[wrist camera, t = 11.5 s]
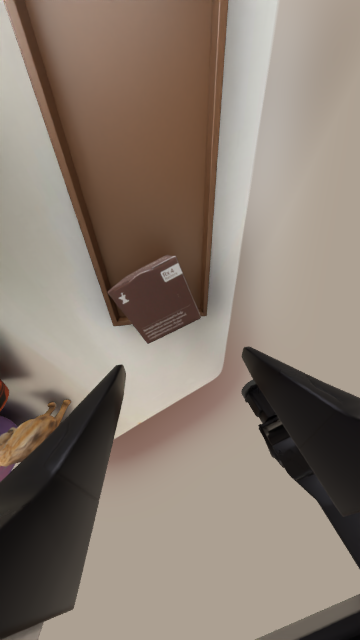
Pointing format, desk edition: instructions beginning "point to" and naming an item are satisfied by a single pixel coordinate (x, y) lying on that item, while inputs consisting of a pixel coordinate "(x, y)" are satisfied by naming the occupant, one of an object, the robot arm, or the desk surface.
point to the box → (156, 299)
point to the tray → (132, 125)
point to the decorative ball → (3, 425)
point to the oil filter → (3, 394)
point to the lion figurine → (29, 435)
